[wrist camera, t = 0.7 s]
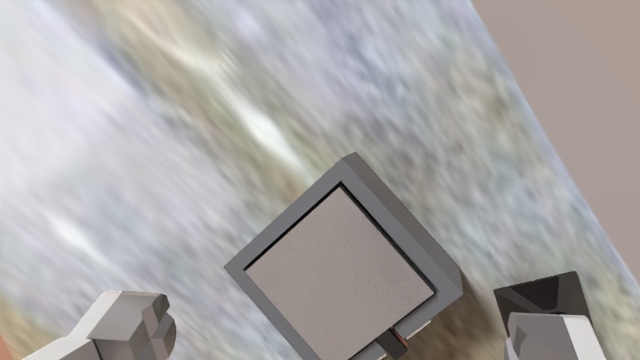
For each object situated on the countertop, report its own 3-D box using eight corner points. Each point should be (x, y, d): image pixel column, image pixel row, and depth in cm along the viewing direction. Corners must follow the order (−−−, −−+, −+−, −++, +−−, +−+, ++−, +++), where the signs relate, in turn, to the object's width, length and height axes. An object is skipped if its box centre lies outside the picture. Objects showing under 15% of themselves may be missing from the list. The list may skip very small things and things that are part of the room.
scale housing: (461, 269, 57) (466, 297, 48) (349, 356, 61) (335, 396, 52) (355, 151, 58) (341, 158, 49) (252, 245, 62) (223, 267, 53)
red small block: (407, 344, 51) (407, 346, 50) (396, 352, 51) (395, 355, 51) (393, 328, 51) (393, 330, 51) (382, 336, 52) (381, 339, 51)
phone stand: (575, 270, 54) (614, 313, 42) (590, 321, 54) (633, 377, 43) (492, 289, 56) (508, 334, 44) (507, 337, 56) (526, 395, 45)
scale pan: (454, 311, 49) (454, 316, 48) (352, 387, 52) (350, 393, 51) (341, 185, 50) (339, 187, 49) (249, 268, 53) (245, 271, 52)
